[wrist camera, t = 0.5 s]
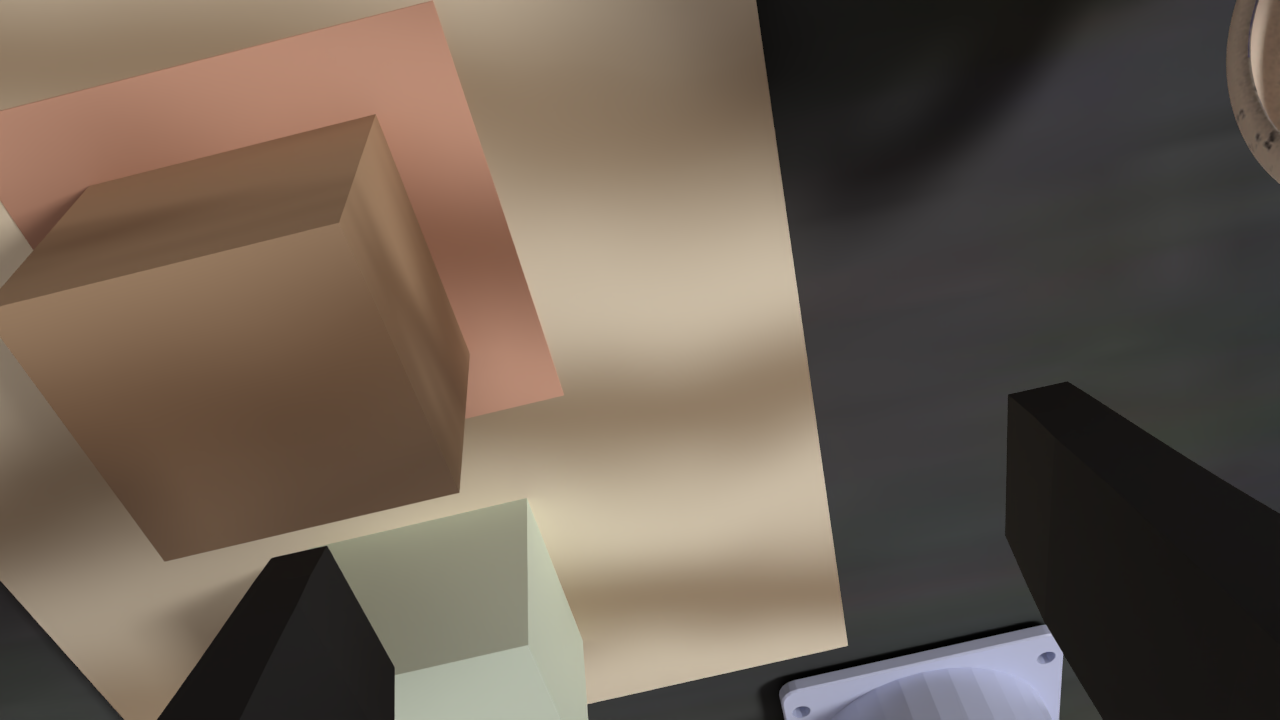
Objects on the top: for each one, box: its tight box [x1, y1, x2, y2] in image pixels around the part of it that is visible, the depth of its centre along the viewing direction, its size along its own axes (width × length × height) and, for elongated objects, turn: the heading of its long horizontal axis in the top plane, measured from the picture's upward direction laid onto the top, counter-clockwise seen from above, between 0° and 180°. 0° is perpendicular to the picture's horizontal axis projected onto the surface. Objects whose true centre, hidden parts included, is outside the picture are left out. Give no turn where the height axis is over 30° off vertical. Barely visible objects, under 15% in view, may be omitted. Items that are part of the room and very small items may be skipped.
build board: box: [0, 0, 848, 720], centre depth 20 cm, size 20×18×1 cm
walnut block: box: [0, 114, 470, 562], centre depth 16 cm, size 5×5×4 cm
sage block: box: [308, 498, 588, 720], centre depth 21 cm, size 5×5×4 cm
